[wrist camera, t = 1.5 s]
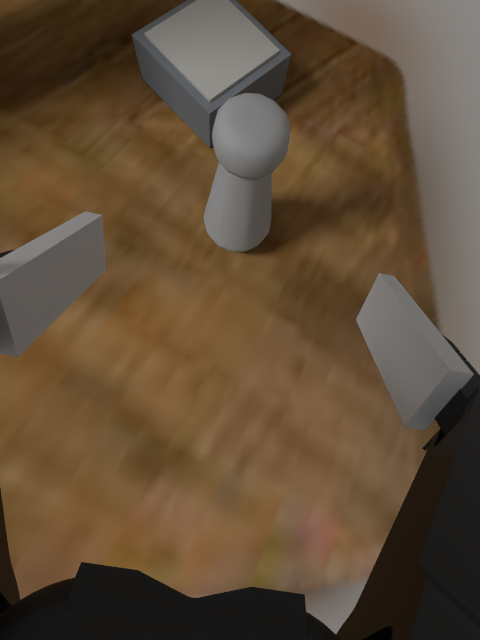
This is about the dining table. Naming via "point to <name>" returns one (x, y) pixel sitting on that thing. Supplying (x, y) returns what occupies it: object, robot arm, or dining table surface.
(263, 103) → the salt shaker
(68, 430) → the dining table surface
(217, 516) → the dining table surface
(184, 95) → the slate plinth
